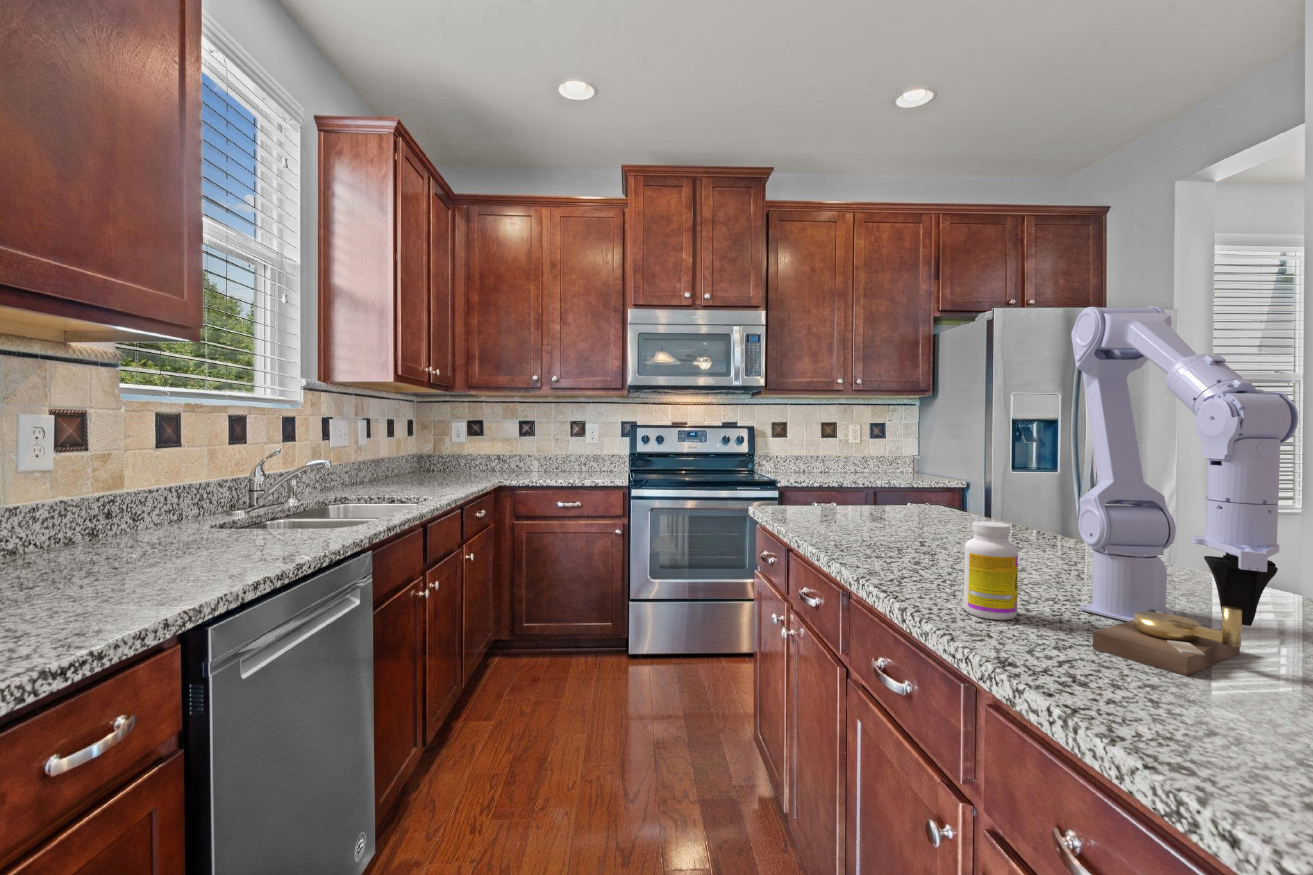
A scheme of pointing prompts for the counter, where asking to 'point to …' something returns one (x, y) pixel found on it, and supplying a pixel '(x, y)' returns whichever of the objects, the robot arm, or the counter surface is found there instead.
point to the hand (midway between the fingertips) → (1237, 623)
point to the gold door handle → (1191, 626)
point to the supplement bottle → (991, 572)
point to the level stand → (1161, 649)
